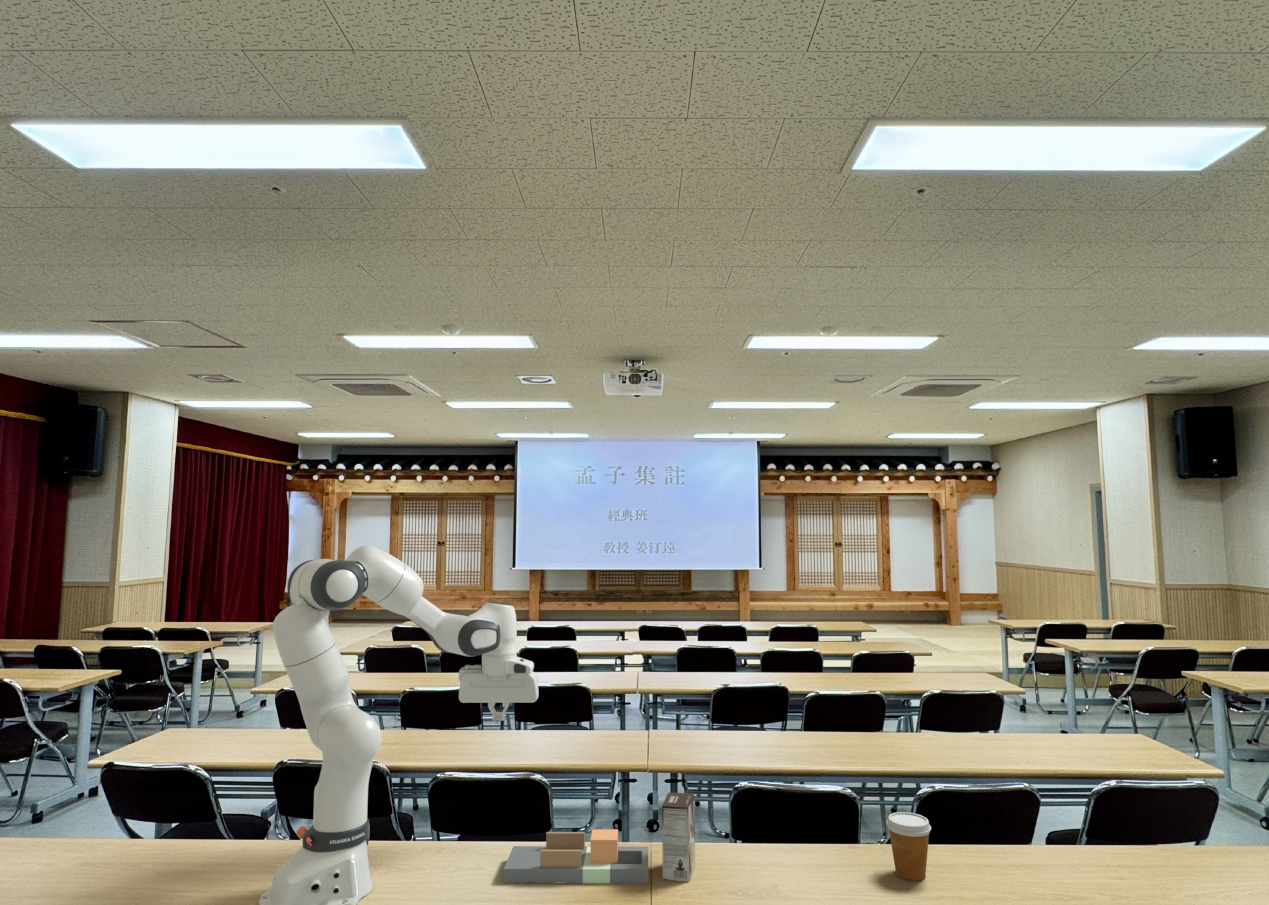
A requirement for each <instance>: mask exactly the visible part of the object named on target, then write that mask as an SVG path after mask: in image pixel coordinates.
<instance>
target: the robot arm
mask: <svg viewBox="0 0 1269 905" xmlns="http://www.w3.org/2000/svg"><path fill="white" fill-rule="evenodd" d="M424 588H425V586H424V581H423V579H422V577H420V575H419V574H418V573H417V572H416V571H415V570H414V569H413V568H411V567H410V565H408V564H406V563H404V562H403V561H402V560H400V559H399V558H397V557H395V556H394V555H392V554H390V553H388V552H386V551H384V550H382V549H380V548H378V547H376V546H373V545H368V544H367V545H366V544H365V545H361V546H359V547H357V548H355V549H354V550H353V551H351V552H350V553H349V555H348V556H347V558H346V559H345V560H342V559H340V560H338V559H337V560H336V559H330V558H319V559H311V560H306V561H304V562H302V563H300V564H299V565H297V566H296V567H294V569H293V570H292V571H291V572H290V574H289V577H288V580H287V594H286V598H285V599H286V601H285V605H287V607H285V608H283V610H281V611H280V612H279V613H278V614H277V615H276V616H275V618H274V620H273V623H272V630H273V634H274V640H275V643H276V648H277V651H278V654H279V656H280V657H279V658H281V661H282V665H283V667H284V669H285V671H286V673H287V675H288V678H289V680H290V683H291V685H292V687H293V690H294V692H295V694H296V697H297V700H298V703H299V706H300V711H301V714H302V717H303V721H304V725H305V726H306V730H307V733H308V736H309V738H310V741H311V743H312V744H313V745H314V746H315V748H317V749H318V750H320V751H321V754H322V763H321V769H320V773H319V778H318V781H317V784H316V785H315V786H314V789H313V790H314V791H313V816H312V817H313V819H312V821H313V822H312V825H311V826H310V827H309V828H306V826H299V827H298V828H297V829H296V836H298V838H299V839H302V846H301V847H300V848H299V849H298V850H296V851H295V852H294V853H293V854H292V855H291V856H290V857H289V858H288V859H286V860H285V861H284V862H283V863H282V864H281V865H279V867H277V869H276V871H275V873H274V876H273V879H272V883H271V887H270V888H271V889H270V890H266V891H265V892H263V893H262V894H261V895H260V897H259V900H258V905H357V904H358V902H359V900H361V899H363V897H365V896H367V895H368V894H369V893H370V892H371V891H372V889H373V888H374V882H373V877H372V874H371V868H370V862H369V856H368V855H369V854H368V853H369V852H368V846H369V841H370V819H369V818H368V805H369V804H368V803H369V802H368V801H369V800H368V799H369V783H370V777H371V771H372V768H373V765H374V764H373V763H374V760H375V756H376V755H377V754H378V752H379V750H380V748H381V745H382V744H381V743H382V741H383V740H382V736H383V735H382V731H381V729H380V727H379V724H378V722H377V721H376V720H375V718H374V717H373V716H372V715H370V714H369V713H367V712H366V711H363V710H362V709H360V708H359V707H358V705H357V704H356V703H355V700H354V697H353V694H352V690H351V686H350V685H351V684H350V681H349V676H350V675H349V671H348V668H347V667H346V663H345V661H344V658H343V656H342V655H341V652H340V650H339V648H338V645H337V642H336V640H335V638H334V636H333V633H332V631H331V629H330V624H329V616H330V612H331V611H339V610H342V609H346V608H348V607H350V606H351V605H352V604H354V602H356V601H357V600H358V599H359V597H360V596H361V595H362V596H365V597H366V598H367V599H369V600H370V601H372V602H373V603H375V605H378V606H380V607H381V608H383V609H385V610H387V611H390V612H392V613H395V614H397V615H399V616H400V615H401V616H404V617H405V618H407V619H408V620H409V621H411V622H412V623H414V624H415V625H417V627H419V628H421V630H423V631H424V632H425V633H427V635H428V636H429V638H430V640H431V642H432V643H433V645H434V646H435V648H437V649H438V651H441V652H443V653H448V654H455V655H459V656H464V657H470V658H471V657H477V656H481V664H473V665H471V664H466V665H464V666H463V667H461V668H460V669H459V671H458V679H459V681H460V685H459V689H458V700H459V702H460V703H463V704H466V703H467V704H470V703H471V704H472V703H473V704H475V703H477V704H479V703H481V704H482V703H485V704H486V703H487V707H488V710H489V712H490V714H491V715H492V721H504V720H505V719H506V718H505V717H506V712H507V710H508V708H509V707H510V704H511V703H513V704H515V703H525V704H526V703H528V704H529V703H530V704H531V703H532V704H533V703H535V702H536V701H537V700H538V698H539V682H538V681H539V680H538V677H537V675H536V674H537V673H535V671H534V668H535V663H534V662H533V661H532V660H528V659H525V658H523V657H520V656H517V655H518V654H517V648H516V639H517V636H518V635H517V634H518V633H517V630H518V629H517V628H518V626H517V625H518V624H517V614H516V609H515V607H514V606H513V605H512V604H510V603H507V602H502V601H501V602H500V601H492V600H490V601H487V602H485V604H484V605H482V607H481V608H479V609H478V610H477V611H475V612H474V613H472V614H470V615H468V616H467V615H462V614H458V613H454V612H446V611H443V610H441V609H440V608H439V607H437V606H436V605H435V604H433V603H432V602H431V601H429V600H428V599H426V597H424V596H423V594H424ZM497 703H500V704H501V703H502V707H503V710H502V711H497V710H496V709H495V705H496V704H497Z"/></svg>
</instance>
